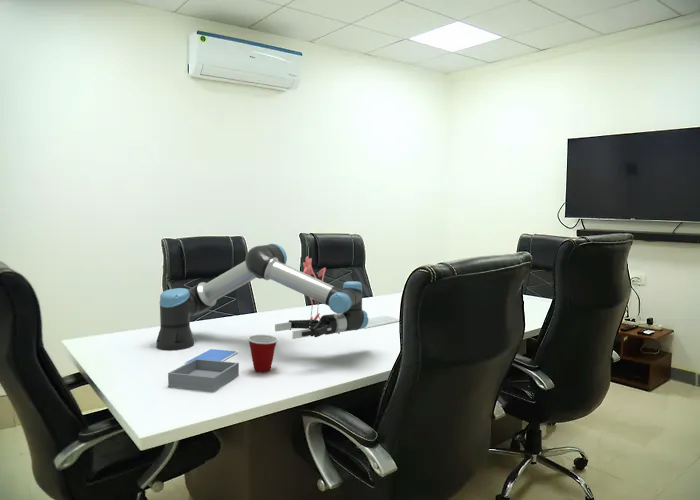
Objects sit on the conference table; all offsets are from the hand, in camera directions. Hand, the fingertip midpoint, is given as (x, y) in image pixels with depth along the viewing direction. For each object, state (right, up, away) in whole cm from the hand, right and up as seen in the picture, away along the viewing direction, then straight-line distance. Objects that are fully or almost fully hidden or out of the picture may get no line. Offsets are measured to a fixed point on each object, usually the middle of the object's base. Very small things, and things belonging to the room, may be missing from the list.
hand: (283, 331), depth 185 cm
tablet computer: (-29, -13, +11) cm, 34 cm away
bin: (-25, -14, -15) cm, 32 cm away
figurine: (+3, -8, +67) cm, 67 cm away
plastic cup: (-7, -14, -3) cm, 16 cm away
